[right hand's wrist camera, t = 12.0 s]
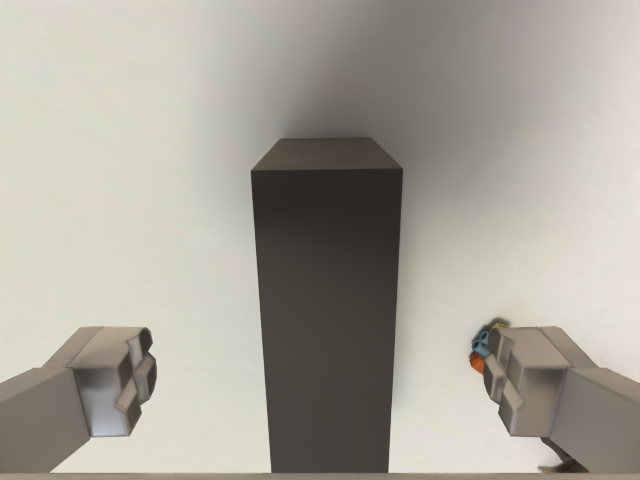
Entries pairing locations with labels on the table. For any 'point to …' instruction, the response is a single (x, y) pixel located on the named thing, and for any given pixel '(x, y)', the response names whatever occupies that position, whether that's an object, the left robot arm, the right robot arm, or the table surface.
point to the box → (328, 301)
